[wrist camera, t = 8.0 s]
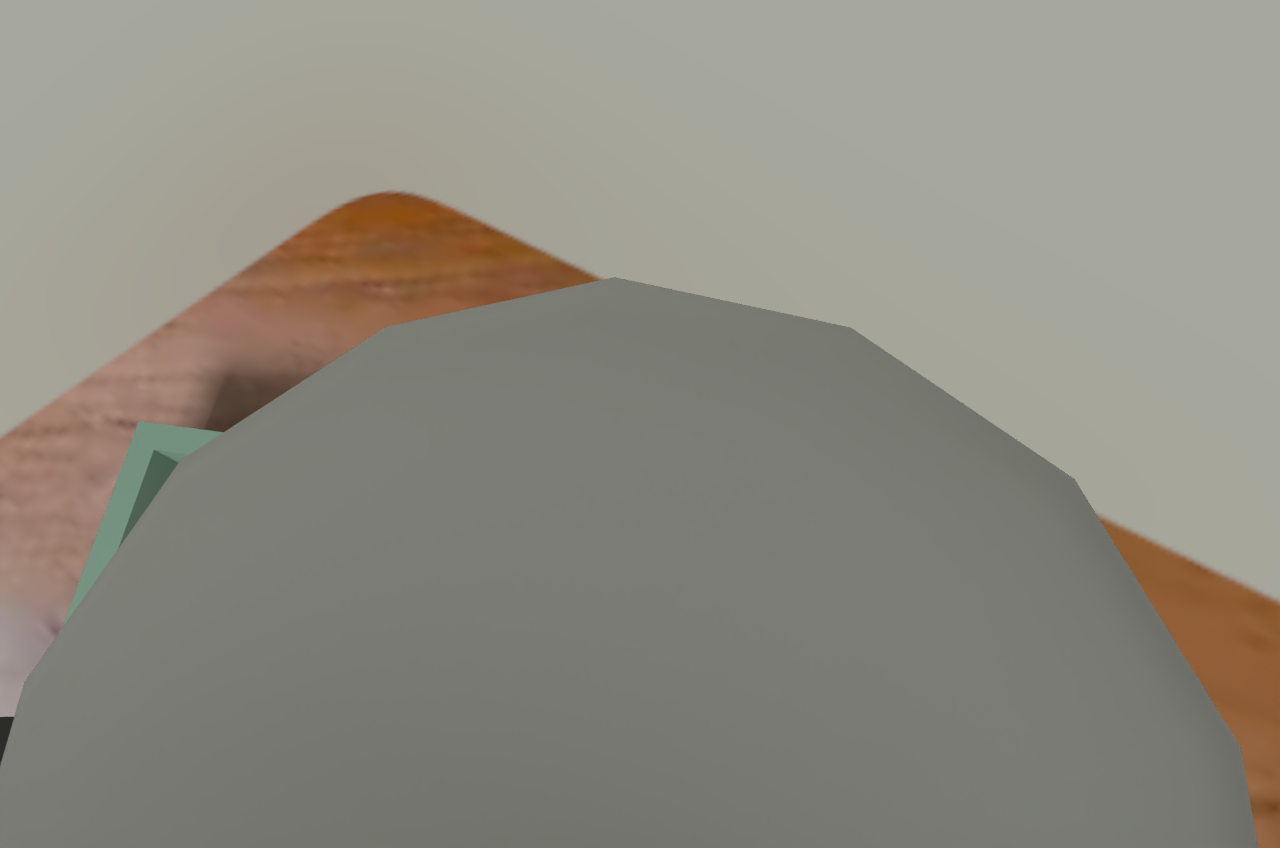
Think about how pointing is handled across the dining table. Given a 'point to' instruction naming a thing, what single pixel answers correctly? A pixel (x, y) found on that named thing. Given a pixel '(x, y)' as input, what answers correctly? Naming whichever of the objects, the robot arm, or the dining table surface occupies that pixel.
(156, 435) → the square frame
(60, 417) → the dining table surface
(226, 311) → the dining table surface
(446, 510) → the salt shaker
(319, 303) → the dining table surface
